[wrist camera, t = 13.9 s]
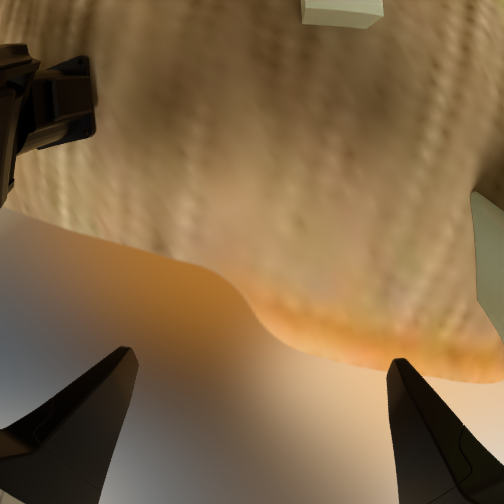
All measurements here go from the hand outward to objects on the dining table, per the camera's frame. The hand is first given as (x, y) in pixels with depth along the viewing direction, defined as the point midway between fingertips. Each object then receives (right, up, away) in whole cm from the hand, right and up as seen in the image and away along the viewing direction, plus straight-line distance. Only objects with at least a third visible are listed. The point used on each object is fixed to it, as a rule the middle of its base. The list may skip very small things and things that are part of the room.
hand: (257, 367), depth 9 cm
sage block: (+5, +19, +4) cm, 20 cm away
